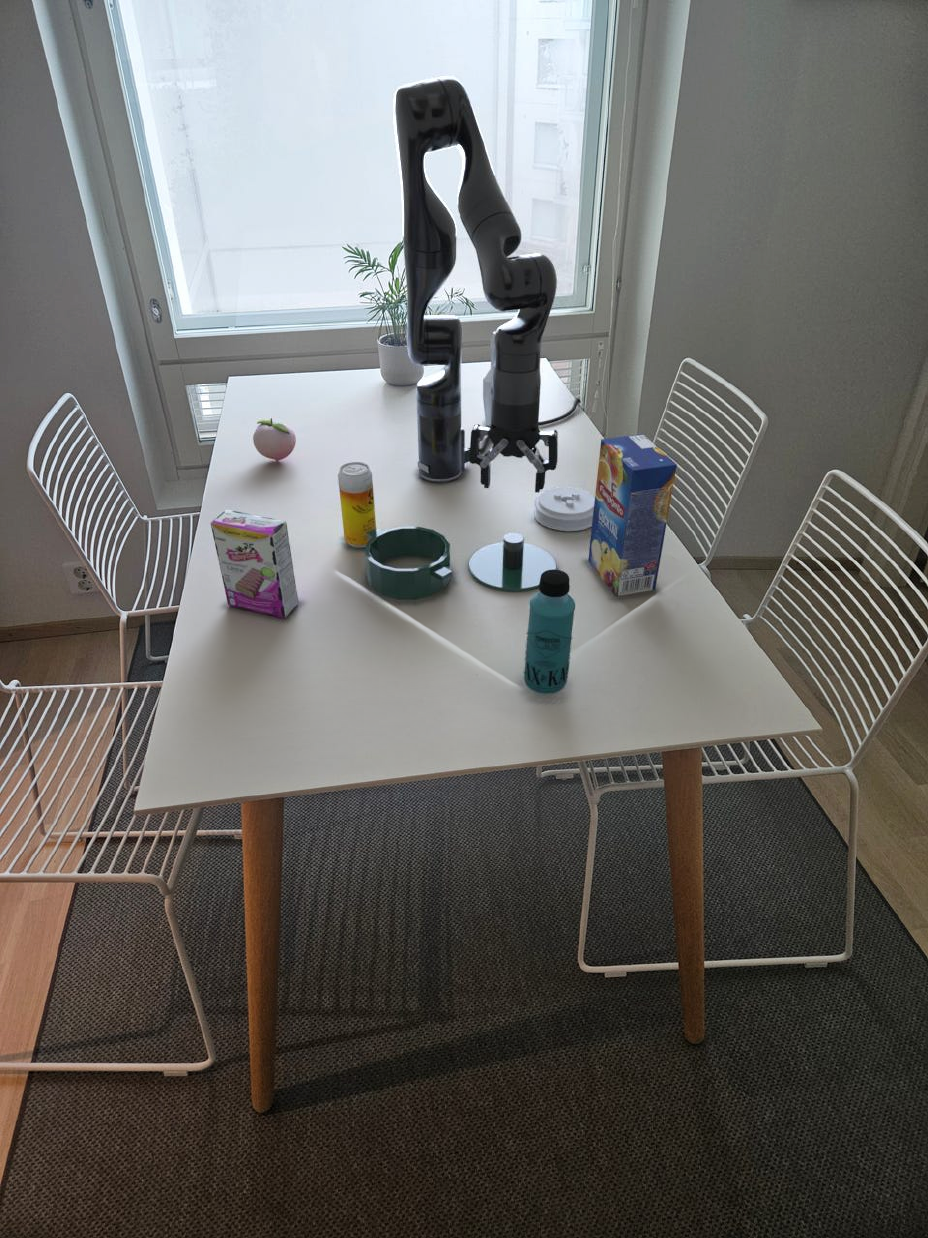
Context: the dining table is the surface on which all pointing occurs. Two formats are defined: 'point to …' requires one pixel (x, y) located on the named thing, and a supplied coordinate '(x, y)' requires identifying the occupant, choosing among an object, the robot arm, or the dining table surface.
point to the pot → (407, 580)
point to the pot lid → (510, 564)
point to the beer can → (356, 502)
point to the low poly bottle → (488, 385)
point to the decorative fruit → (274, 439)
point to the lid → (565, 508)
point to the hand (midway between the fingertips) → (512, 488)
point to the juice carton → (630, 513)
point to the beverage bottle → (549, 634)
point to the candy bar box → (255, 562)
